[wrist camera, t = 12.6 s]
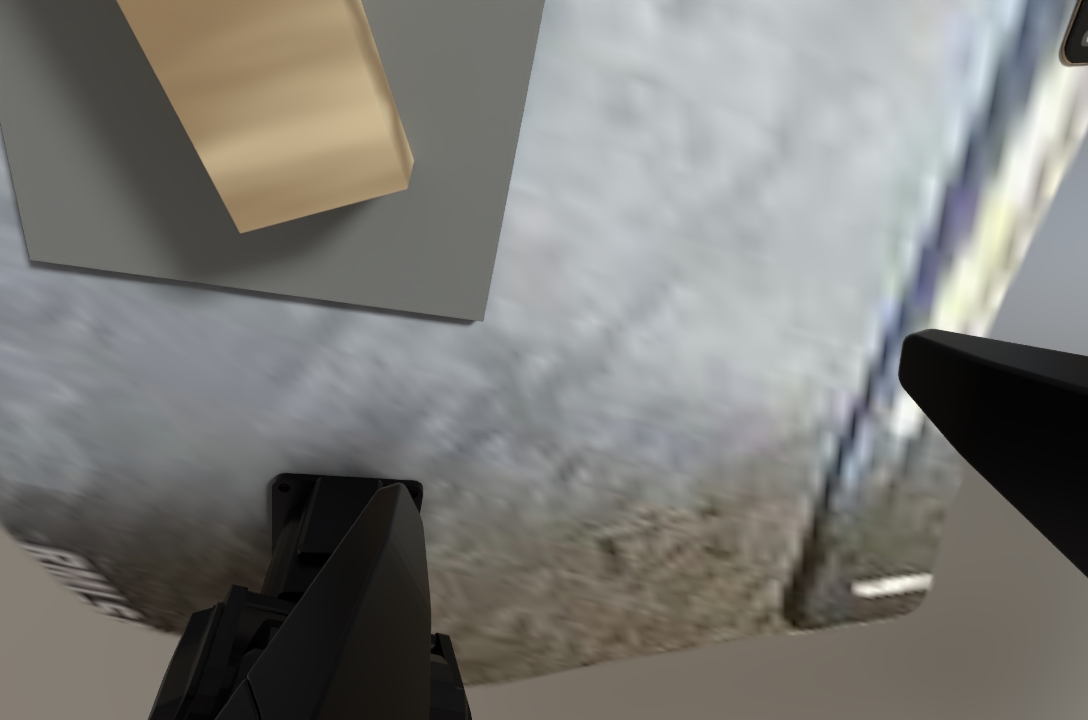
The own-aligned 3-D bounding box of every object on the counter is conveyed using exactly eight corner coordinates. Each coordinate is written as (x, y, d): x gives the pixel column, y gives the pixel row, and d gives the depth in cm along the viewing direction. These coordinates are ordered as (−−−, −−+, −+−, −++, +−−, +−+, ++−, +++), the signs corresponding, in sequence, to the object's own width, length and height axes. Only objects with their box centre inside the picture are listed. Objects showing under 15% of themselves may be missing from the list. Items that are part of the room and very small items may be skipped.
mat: (482, 315, 22) (482, 321, 21) (41, 254, 18) (29, 260, 18) (601, -316, 14) (607, -330, 13) (-147, -665, 10) (-178, -704, 10)
